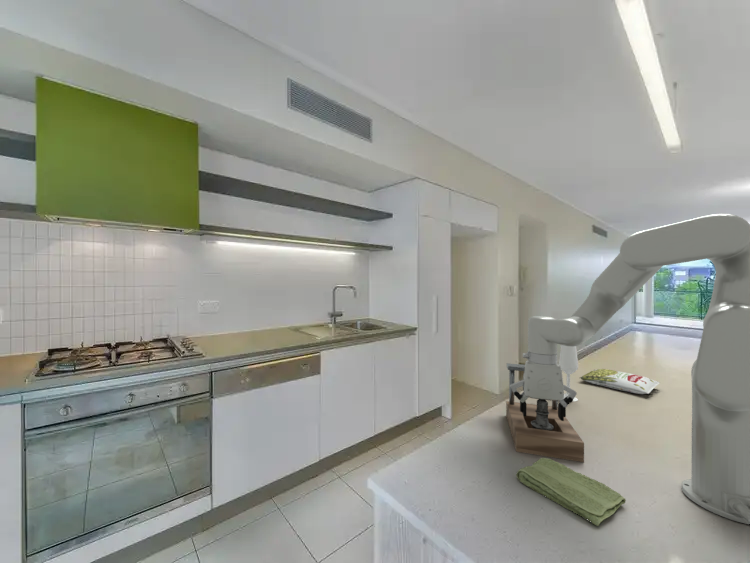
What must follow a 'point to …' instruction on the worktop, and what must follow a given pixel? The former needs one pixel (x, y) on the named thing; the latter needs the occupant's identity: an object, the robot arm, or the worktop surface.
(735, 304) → the robot arm
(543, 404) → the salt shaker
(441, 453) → the worktop surface
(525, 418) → the socket board
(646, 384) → the frozen beans
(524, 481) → the washcloth
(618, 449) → the worktop surface
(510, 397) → the grey metal arch
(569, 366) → the champagne flute
